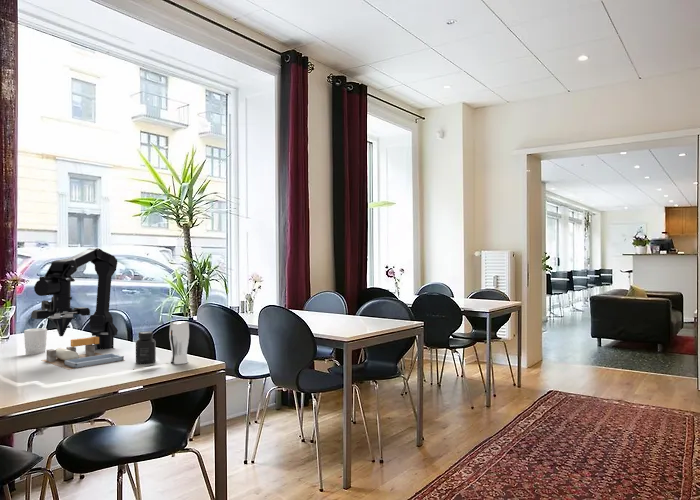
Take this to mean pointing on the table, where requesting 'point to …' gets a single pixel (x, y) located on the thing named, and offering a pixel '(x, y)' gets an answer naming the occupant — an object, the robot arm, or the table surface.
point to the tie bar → (84, 341)
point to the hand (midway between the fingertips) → (61, 336)
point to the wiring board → (61, 362)
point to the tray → (93, 360)
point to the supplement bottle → (145, 348)
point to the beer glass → (179, 341)
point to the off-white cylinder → (66, 354)
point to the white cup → (35, 340)
